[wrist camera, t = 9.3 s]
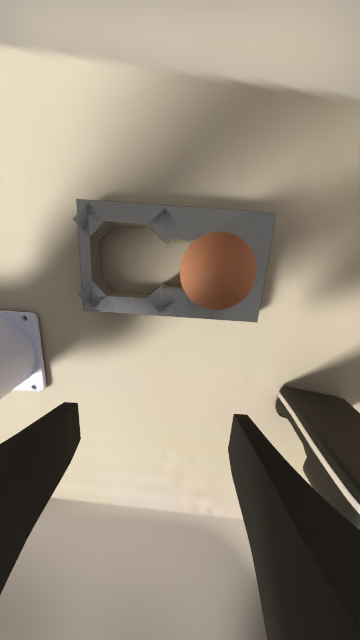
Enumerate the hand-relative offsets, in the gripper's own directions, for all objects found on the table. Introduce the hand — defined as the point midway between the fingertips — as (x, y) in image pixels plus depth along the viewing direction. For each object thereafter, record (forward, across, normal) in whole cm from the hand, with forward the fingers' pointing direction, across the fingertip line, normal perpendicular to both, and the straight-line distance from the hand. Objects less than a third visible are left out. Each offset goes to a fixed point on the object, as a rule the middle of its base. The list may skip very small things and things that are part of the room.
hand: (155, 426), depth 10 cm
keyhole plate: (+10, 0, -7) cm, 13 cm away
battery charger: (+11, -14, +6) cm, 19 cm away
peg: (+10, -3, -7) cm, 13 cm away
